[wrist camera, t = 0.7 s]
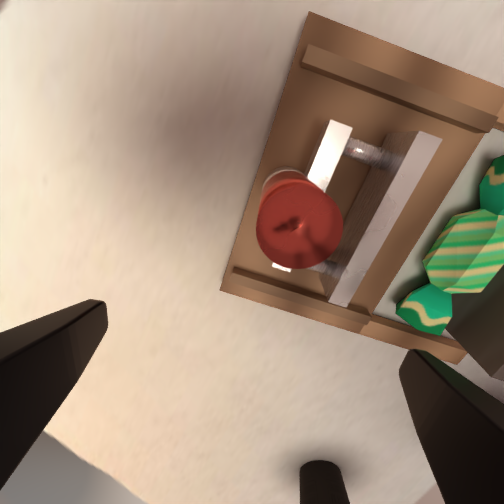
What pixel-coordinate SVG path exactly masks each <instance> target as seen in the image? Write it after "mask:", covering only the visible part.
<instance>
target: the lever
mask: <svg viewBox="0 0 504 504" xmlns="http://www.w3.org/2000/svg"><path fill="white" fill-rule="evenodd" d="M352 129H353V128H352V127H349V126H347V125H344V124H341V123H338V122H336V121H333V120H329V121H326V122H324V124H323V127H322V129H321V132H320V135H319V137H318V140H317V142H316V145H315V147H314V150H313V152H312V155H311V157H310V160H309V163H308V165H307V168H306V170H305V173H304V174H303V173H302V172H301V171H299V170H298V169H296V168H294V167H289V166H283V167H279V168H277V169H275V170H273V171H272V172H270V173H269V174H268V176H267V177H266V179H265V181H264V183H263V187H262V193H261V199H260V205H259V211H258V217H257V222H256V237H257V241H258V244H259V246H260V248H261V250H262V251H263V253H264V254H265V255H266V256H267V257H268V258H269V259H270V260H271V261H272V267H275V268H278V269H281V270H284V271H288V272H290V271H291V269H305V268H306V269H309V270H312V271H316V272H319V275H318V276H319V279H320V281H321V284H322V287H323V289H324V292H325V295H326V297H327V300H328V302H330V303H333V304H336V305H339V306H342V307H347V306H348V304H349V302H350V300H351V299H352V297H353V295H354V293H355V292H356V290H357V288H358V286H359V285H360V283H361V281H362V279H363V278H364V276H365V274H366V272H367V271H368V269H369V267H370V265H371V264H372V262H373V260H374V258H375V257H376V255H377V253H378V252H379V250H380V248H381V246H382V245H383V243H384V241H385V239H386V238H387V236H388V234H389V232H390V231H391V229H392V227H393V225H394V224H395V222H396V220H397V218H398V217H399V215H400V213H401V211H402V210H403V208H404V206H405V204H406V203H407V201H408V199H409V197H410V196H411V194H412V192H413V190H414V189H415V187H416V185H417V183H418V182H419V180H420V178H421V176H422V175H423V173H424V171H425V169H426V168H427V166H428V164H429V162H430V161H431V159H432V157H433V156H434V154H435V152H436V150H437V149H438V147H439V145H440V143H441V142H442V140H443V139H441V138H438V137H436V136H433V135H430V134H427V133H425V132H422V131H409V132H399V133H388V134H387V136H386V138H385V140H384V142H383V144H382V146H381V147H378V146H376V145H373V144H370V143H367V142H365V141H362V140H359V139H356V138H354V137H351V136H350V133H351V131H352ZM341 155H342V156H345V157H348V158H351V159H354V160H356V161H359V162H362V163H365V164H367V165H370V166H371V168H370V171H369V173H368V175H367V177H366V179H365V181H364V183H363V185H362V187H361V189H360V191H359V193H358V195H357V197H356V199H355V201H354V203H353V205H352V207H351V209H350V211H349V213H348V215H347V218H346V220H345V222H344V224H343V219H342V215H341V212H340V210H339V208H338V206H337V204H336V203H335V202H334V200H333V199H332V198H331V197H330V196H328V195H327V194H326V193H325V191H326V188H327V186H328V184H329V182H330V179H331V177H332V175H333V172H334V170H335V168H336V166H337V163H338V161H339V159H340V156H341Z"/></svg>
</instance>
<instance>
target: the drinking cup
mask: <svg viewBox="0 0 504 504" xmlns="http://www.w3.org/2000/svg"><path fill="white" fill-rule="evenodd" d="M300 504H350V502H349V499H348V495H347V492H346V489H345V485H344V482H343V478H342V475H341V472H340V469H339V468H338V467H337V466H336V465H335V464H333V463H330V462H327V461H312V462H309V463H307V464H305V465H303V466H302V468H301V469H300Z"/></svg>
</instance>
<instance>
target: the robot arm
mask: <svg viewBox="0 0 504 504" xmlns="http://www.w3.org/2000/svg"><path fill="white" fill-rule="evenodd" d="M107 328H108V316H107V306H106V303H105V302H104V301H100V300H94V299H89V300H86V301H83V302H81V303H78V304H75V305H73V306H70V307H67V308H65V309H62V310H59V311H57V312H54V313H51V314H49V315H46V316H43V317H41V318H38V319H35V320H33V321H30V322H27V323H25V324H22V325H19V326H17V327H14V328H12V329H9V330H6V331H4V332H1V333H0V490H1V489H2V487H3V486H4V485H5V483H6V482H7V480H8V479H9V478H10V476H11V475H12V473H13V472H14V470H15V469H16V468H17V466H18V465H19V463H20V462H21V461H22V459H23V458H24V456H25V455H26V453H27V452H28V451H29V449H30V448H31V446H32V445H33V443H34V442H35V441H36V439H37V438H38V437H39V435H40V434H41V432H42V431H43V430H44V428H45V427H46V425H47V424H48V422H49V421H50V420H51V418H52V417H53V415H54V414H55V413H56V411H57V410H58V408H59V407H60V406H61V404H62V403H63V401H64V400H65V398H66V397H67V396H68V394H69V393H70V391H71V390H72V389H73V387H74V386H75V384H76V383H77V381H78V380H79V378H80V376H81V375H82V373H83V371H84V370H85V368H86V366H87V364H88V363H89V361H90V359H91V357H92V356H93V354H94V352H95V350H96V349H97V347H98V345H99V343H100V342H101V340H102V338H103V336H104V335H105V333H106V331H107ZM399 377H400V381H401V384H402V387H403V391H404V394H405V397H406V400H407V404H408V407H409V410H410V413H411V417H412V420H413V423H414V426H415V429H416V432H417V435H418V437H419V440H420V443H421V445H422V448H423V450H424V453H425V455H426V457H427V460H428V462H429V465H430V467H431V470H432V472H433V475H434V477H435V480H436V482H437V485H438V487H439V489H440V492H441V494H442V497H443V499H444V502H445V504H504V404H503V403H501V402H500V401H498V400H497V399H495V398H494V397H493V396H491V395H490V394H488V393H487V392H485V391H484V390H483V389H481V388H480V387H478V386H477V385H475V384H474V383H472V382H471V381H470V380H468V379H467V378H465V377H464V376H462V375H461V374H459V373H458V372H457V371H455V370H454V369H452V368H451V367H449V366H448V365H446V364H445V363H444V362H442V361H441V360H439V359H438V358H436V357H435V356H433V355H432V354H431V353H429V352H428V351H425V350H420V349H410V350H409V351H408V353H407V355H406V357H405V358H404V360H403V362H402V364H401V366H400V369H399Z"/></svg>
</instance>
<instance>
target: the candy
mask: <svg viewBox="0 0 504 504" xmlns="http://www.w3.org/2000/svg"><path fill="white" fill-rule="evenodd" d="M479 190H480V209H477V210H473V211H469V212H465V213H461V214H457V215H455V216H452V218H451V219H450V221H449V222H448V224H447V225H446V227H445V228H444V230H443V231H442V233H441V234H440V236H439V237H438V239H437V240H436V242H435V243H434V245H433V246H432V248H431V249H430V251H429V252H428V254H427V255H426V257H425V258H424V260H423V261H422V262H423V265H424V267H425V270H426V273H427V275H428V278H429V280H430V283H428V284H426V285H424V286H422V287H420V288H418V289H416V290H414V291H412V292H411V293H410V294H409V295H407V296H406V297H405V298H404V299H402V300H401V301H400V302H399V303H398V304H397V305H396V314H397V315H398V316H400V317H401V318H402V319H404V320H405V321H406V322H408V323H409V324H410V325H411V326H413V327H414V328H415V329H417V330H419V331H423V332H427V333H430V334H434V335H438V336H440V335H441V333H442V332H443V330H444V329H445V327H446V325H447V324H448V322H449V321H450V319H451V318H452V295H451V294H455V293H478V292H482V290H483V289H484V288H485V287H486V285H487V284H488V283H489V282H490V281H491V279H492V278H493V277H494V276H495V274H496V273H497V272H498V271H499V269H500V268H501V267H502V266H503V265H504V155H503V156H500V157H498V158H495V159H494V161H493V162H492V164H491V166H490V167H489V169H488V171H487V173H486V174H485V176H484V178H483V180H482V181H481V183H480V185H479Z"/></svg>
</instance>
